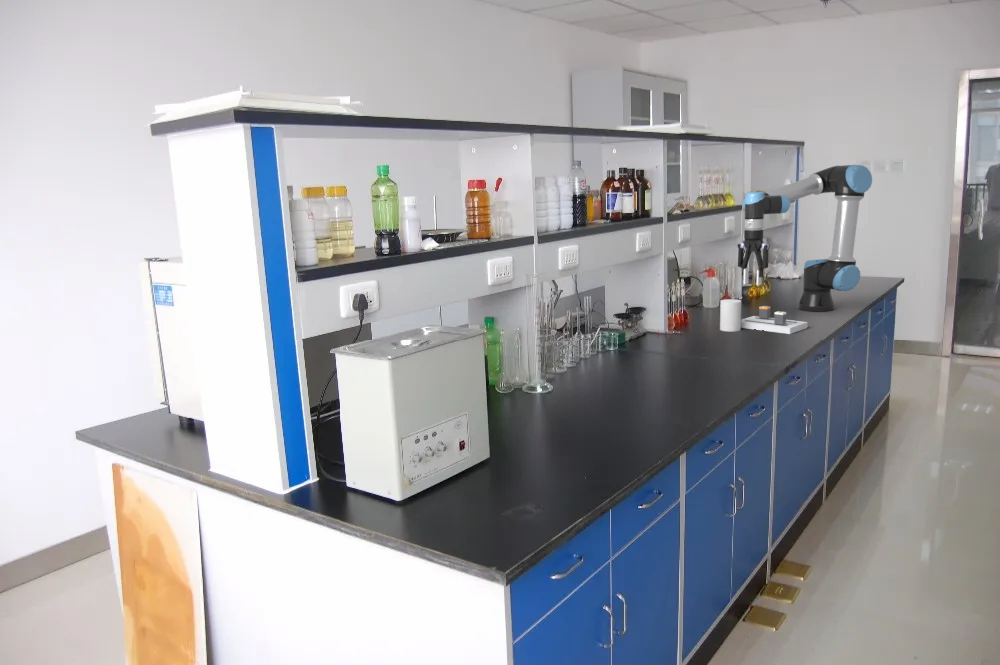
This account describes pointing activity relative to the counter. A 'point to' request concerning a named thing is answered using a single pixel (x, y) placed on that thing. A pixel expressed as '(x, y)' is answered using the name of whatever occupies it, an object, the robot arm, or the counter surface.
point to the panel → (773, 325)
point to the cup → (730, 315)
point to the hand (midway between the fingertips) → (752, 284)
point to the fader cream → (780, 318)
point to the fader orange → (764, 312)
